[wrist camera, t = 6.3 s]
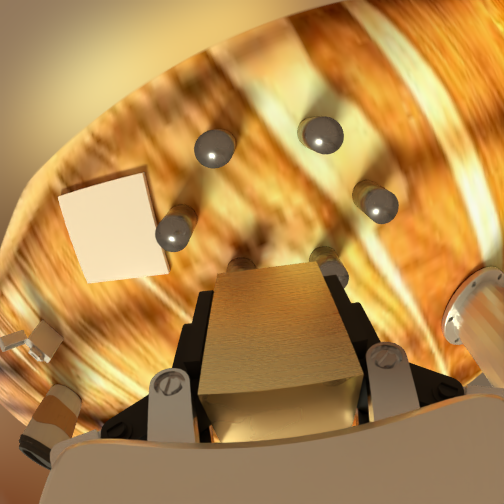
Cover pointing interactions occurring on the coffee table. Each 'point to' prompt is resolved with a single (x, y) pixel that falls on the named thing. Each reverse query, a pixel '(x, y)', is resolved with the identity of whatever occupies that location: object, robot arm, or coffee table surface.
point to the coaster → (114, 230)
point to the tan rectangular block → (277, 357)
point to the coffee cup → (50, 424)
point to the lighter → (35, 341)
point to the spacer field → (311, 136)
